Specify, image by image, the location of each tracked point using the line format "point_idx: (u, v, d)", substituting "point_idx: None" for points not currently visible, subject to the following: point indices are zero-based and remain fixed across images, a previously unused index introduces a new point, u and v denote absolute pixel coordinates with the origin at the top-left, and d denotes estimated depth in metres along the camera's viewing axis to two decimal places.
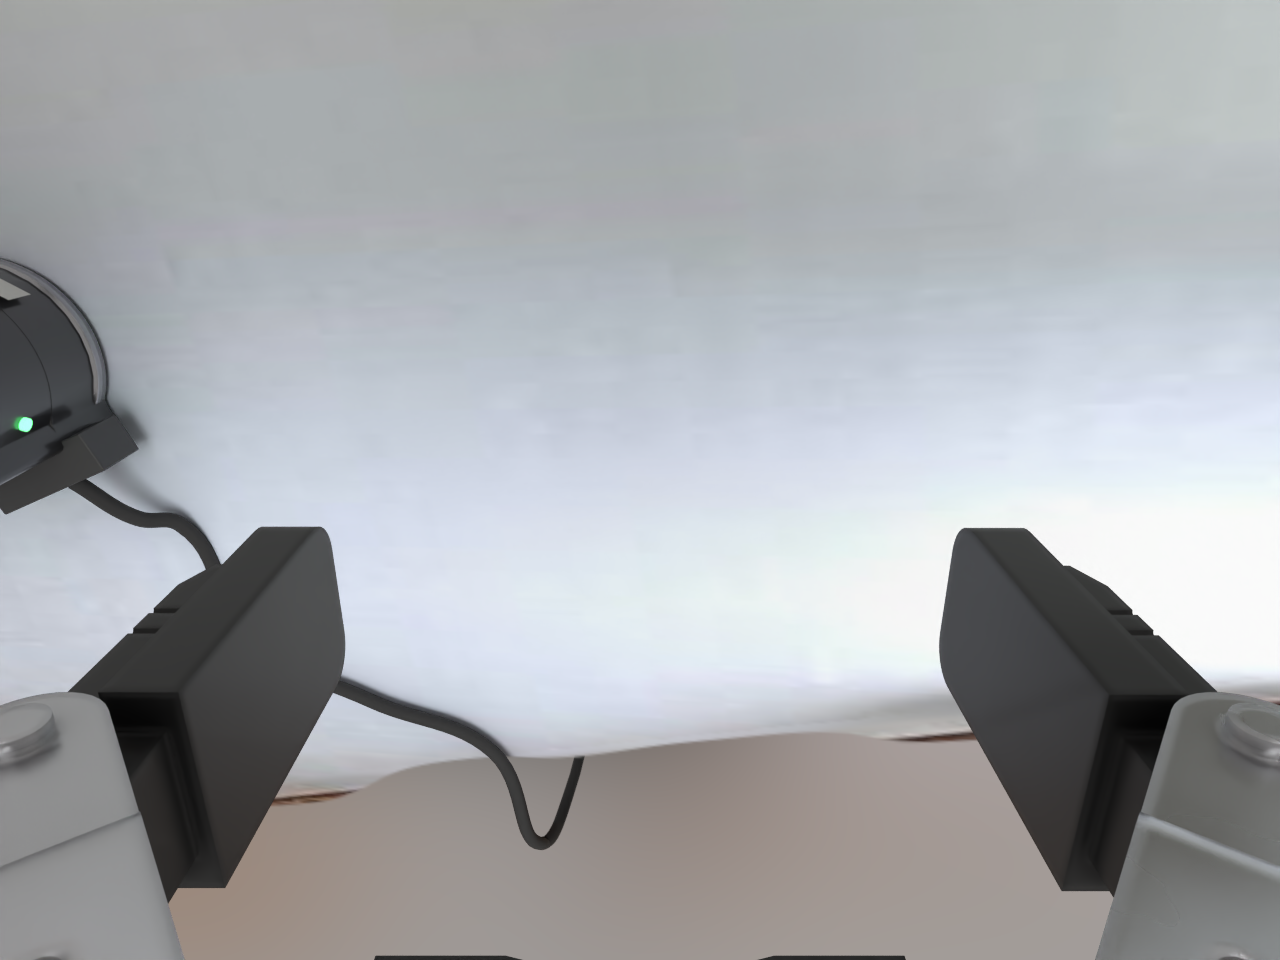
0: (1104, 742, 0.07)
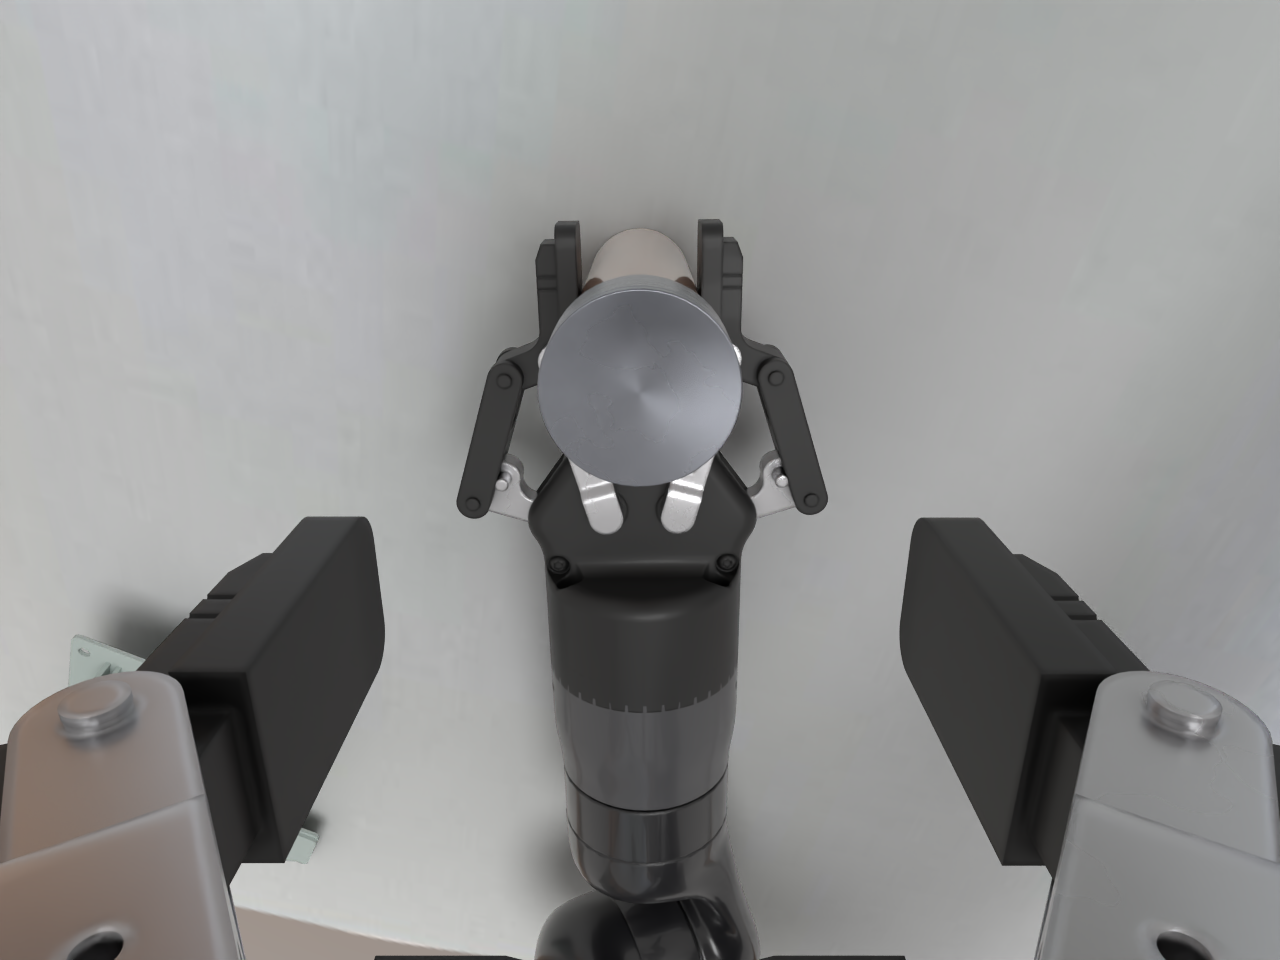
0: (1038, 720, 0.08)
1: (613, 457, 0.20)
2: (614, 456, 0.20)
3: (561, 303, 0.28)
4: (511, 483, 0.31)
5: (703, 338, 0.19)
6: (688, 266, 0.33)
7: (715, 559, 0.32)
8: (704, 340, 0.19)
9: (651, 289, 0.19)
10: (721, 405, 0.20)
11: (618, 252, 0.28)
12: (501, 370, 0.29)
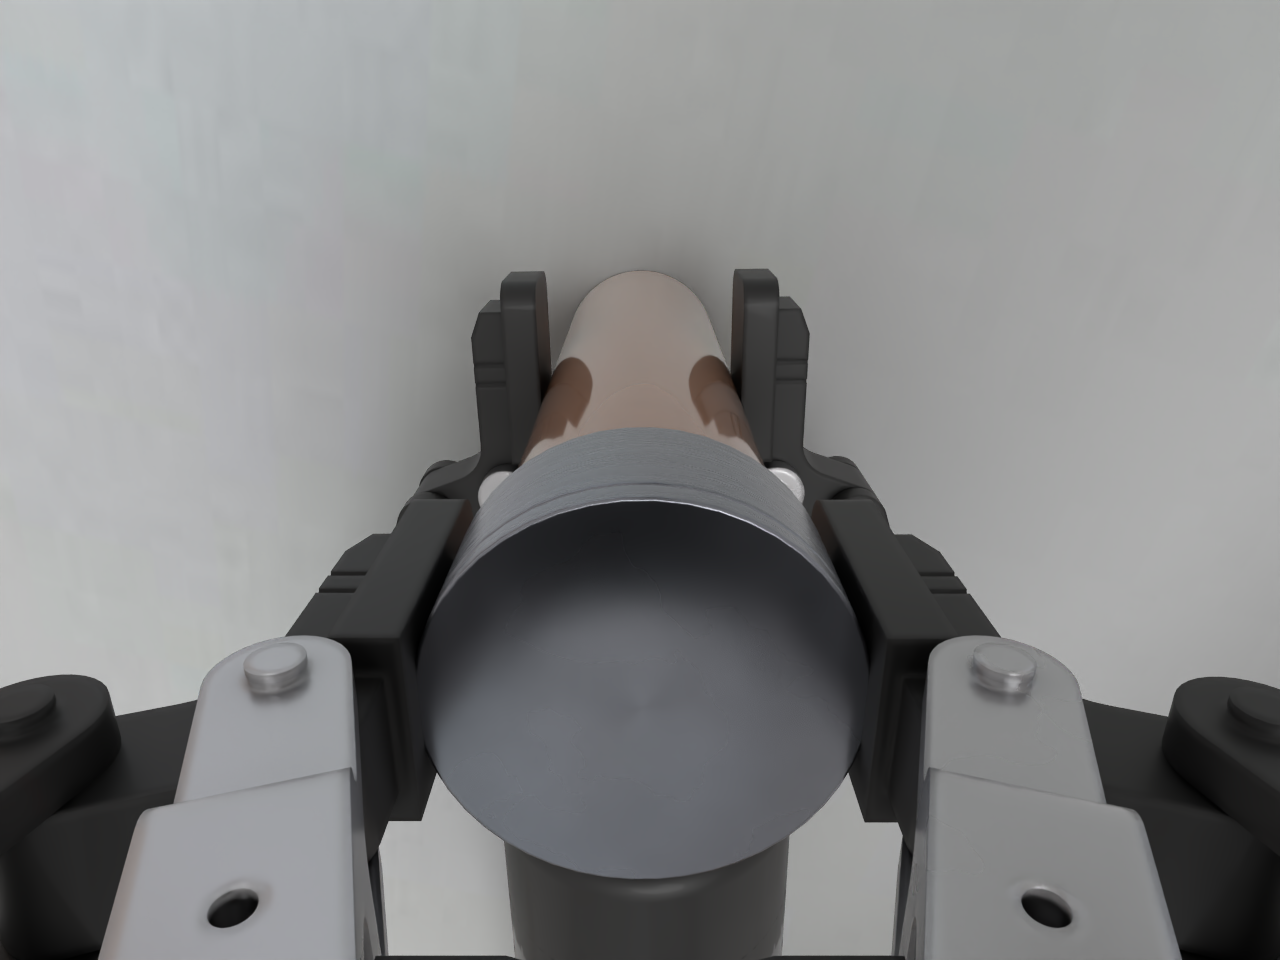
0: (888, 683, 0.08)
1: (585, 828, 0.09)
2: (587, 827, 0.09)
3: (514, 407, 0.17)
4: None
5: (789, 602, 0.08)
6: None
7: None
8: (791, 606, 0.08)
9: (670, 498, 0.08)
10: (823, 733, 0.09)
11: (606, 325, 0.17)
12: None
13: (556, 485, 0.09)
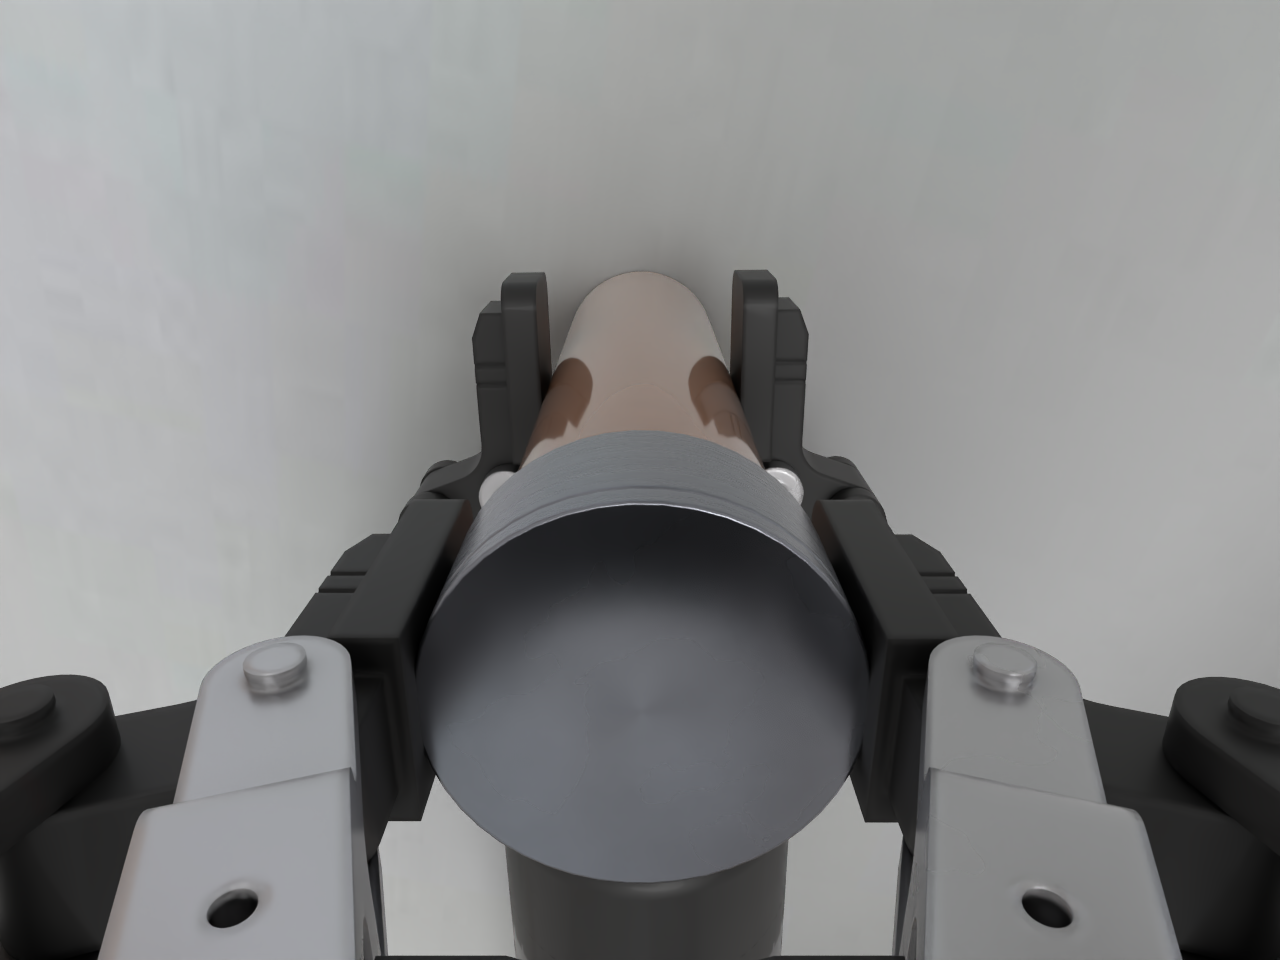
0: (889, 683, 0.08)
1: (791, 764, 0.09)
2: (789, 763, 0.09)
3: (514, 407, 0.18)
4: None
5: (516, 586, 0.08)
6: None
7: None
8: (521, 584, 0.08)
9: None
10: (681, 548, 0.08)
11: (606, 326, 0.17)
12: None
13: None
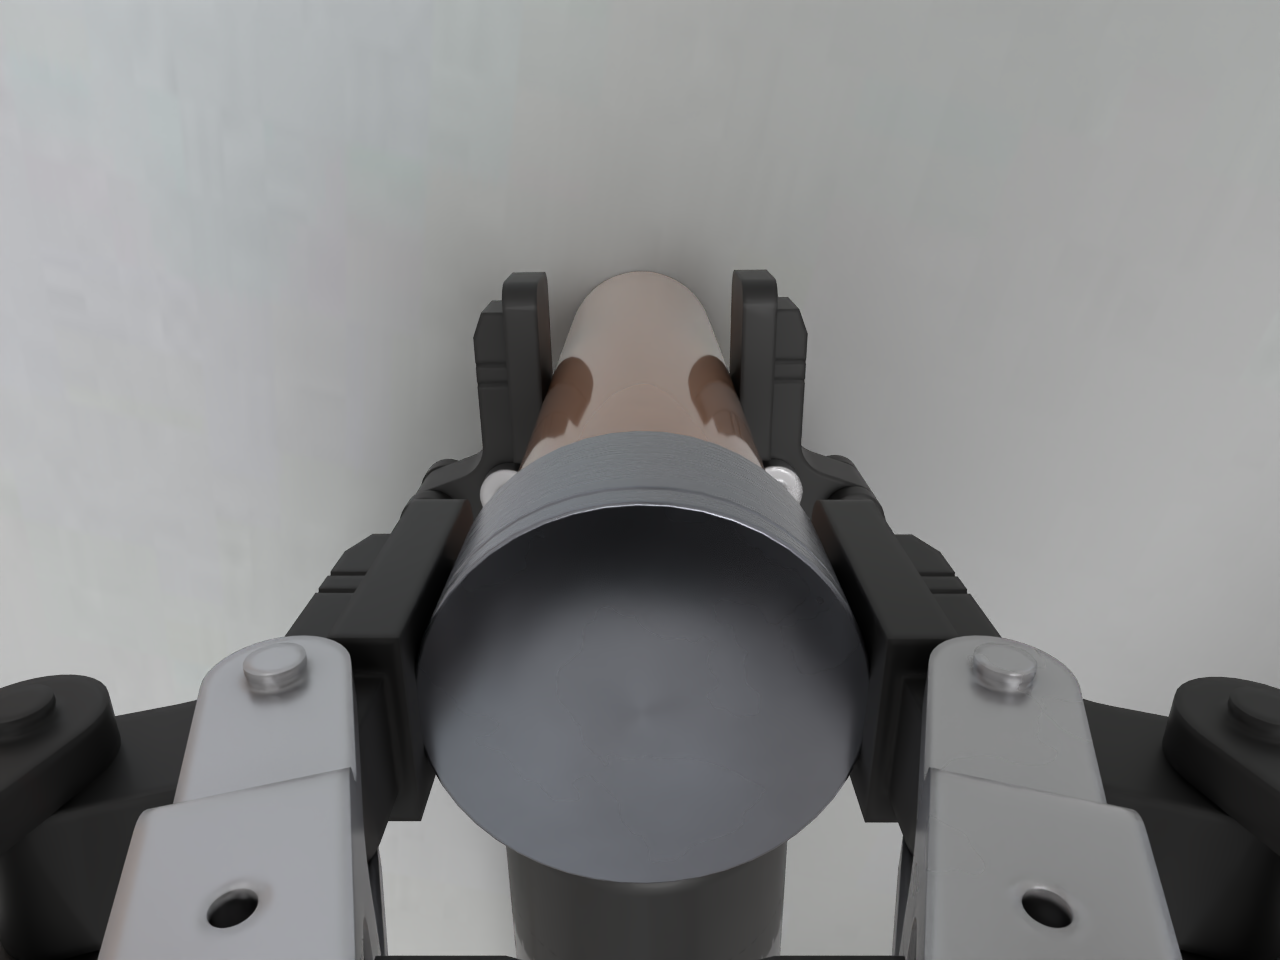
0: (889, 683, 0.08)
1: (717, 577, 0.08)
2: (714, 582, 0.08)
3: (515, 406, 0.18)
4: None
5: (503, 802, 0.09)
6: None
7: None
8: (501, 798, 0.09)
9: (607, 880, 0.10)
10: (458, 678, 0.09)
11: (606, 325, 0.18)
12: None
13: None
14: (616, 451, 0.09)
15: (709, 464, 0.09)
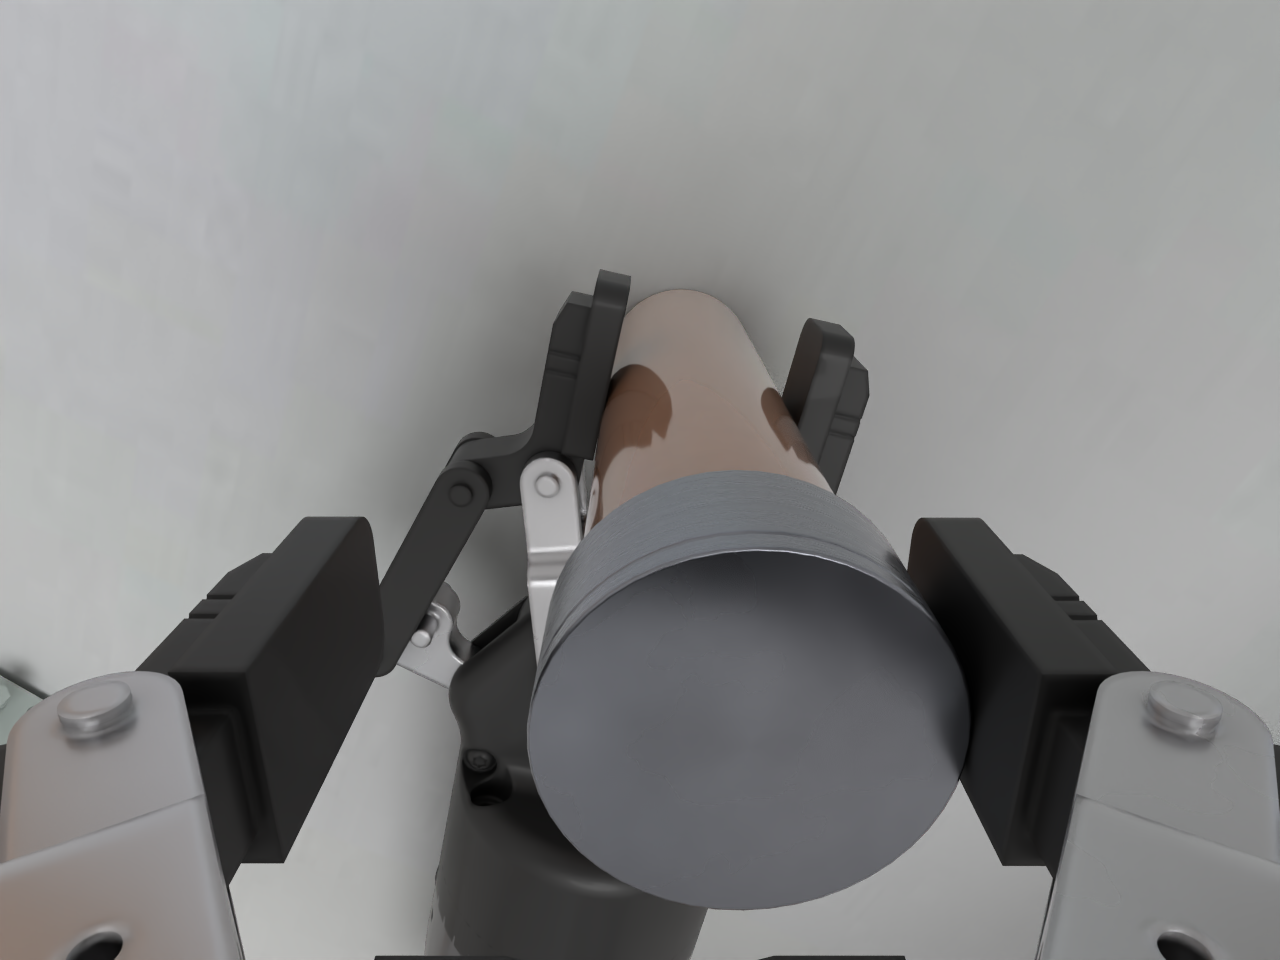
0: (1039, 720, 0.08)
1: (623, 658, 0.09)
2: (626, 662, 0.09)
3: (578, 400, 0.18)
4: (436, 631, 0.21)
5: (806, 872, 0.10)
6: None
7: None
8: (801, 873, 0.10)
9: (937, 817, 0.09)
10: (663, 868, 0.10)
11: (684, 343, 0.18)
12: (460, 477, 0.18)
13: None
14: None
15: (567, 583, 0.10)
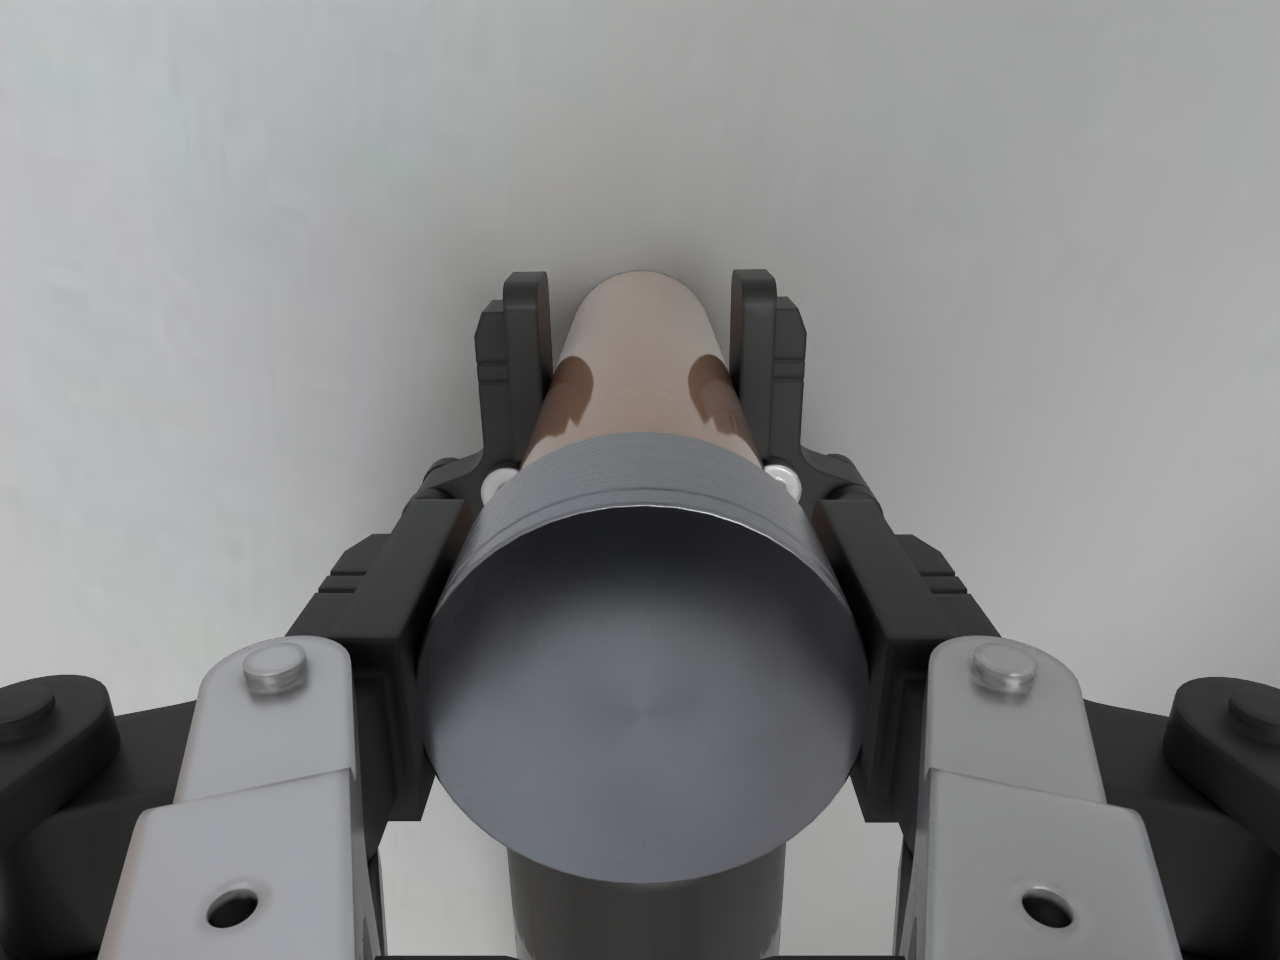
0: (889, 683, 0.08)
1: (488, 649, 0.09)
2: (491, 653, 0.09)
3: (516, 405, 0.18)
4: None
5: (745, 829, 0.09)
6: (712, 329, 0.23)
7: None
8: (740, 830, 0.09)
9: None
10: (599, 851, 0.09)
11: (607, 324, 0.18)
12: None
13: None
14: None
15: None
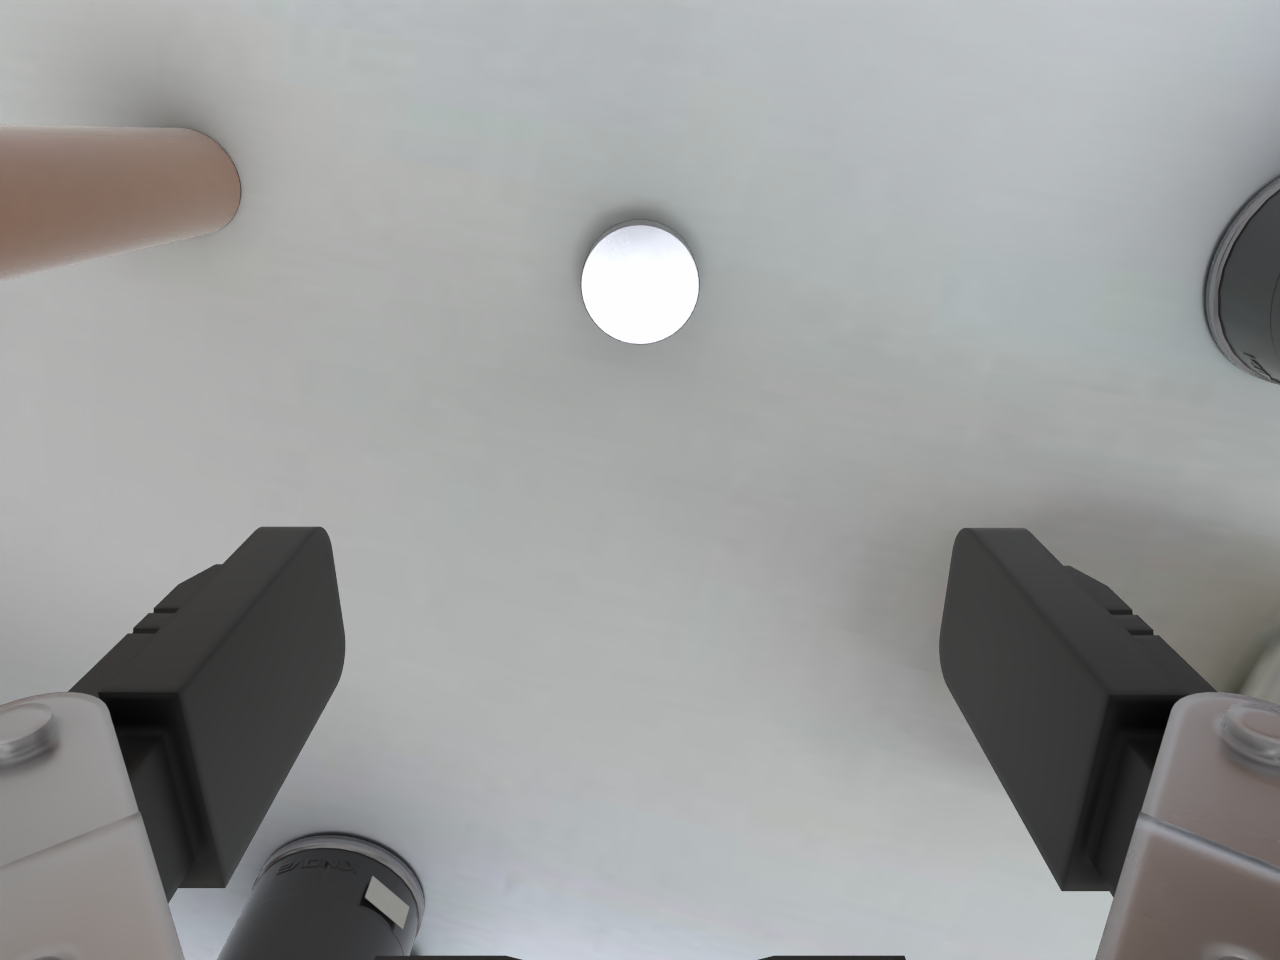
0: (1104, 742, 0.07)
1: (601, 266, 0.34)
2: (601, 267, 0.34)
3: None
4: None
5: (668, 324, 0.35)
6: (196, 235, 0.33)
7: None
8: (666, 324, 0.35)
9: (697, 297, 0.34)
10: (628, 332, 0.35)
11: (142, 169, 0.28)
12: None
13: None
14: None
15: None
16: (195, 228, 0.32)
